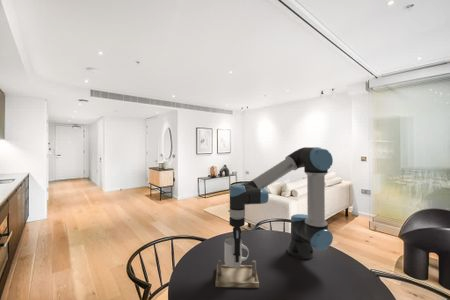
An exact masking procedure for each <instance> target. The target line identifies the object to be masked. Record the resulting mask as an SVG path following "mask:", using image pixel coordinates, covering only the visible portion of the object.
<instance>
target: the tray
mask: <svg viewBox="0 0 450 300" xmlns="http://www.w3.org/2000/svg"><path fill="white" fill-rule="evenodd" d="M222 263H223V261H222V259H218V260H217V264H216V275H215V288H216V287H217V288H250V289H251V288H254V289H255V288H260V281H259V277H258V271H257V261H256V260H252V261H251V265H250V264H248V265H247V264H241V265H240V268H234V267H229V266H227V265H226V264H222Z"/></svg>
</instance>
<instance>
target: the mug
mask: <svg viewBox="0 0 450 300" xmlns="http://www.w3.org/2000/svg"><path fill="white" fill-rule="evenodd" d="M243 249H244V250H246V251H247V254H246V255H247V256H246V257H245V256H243ZM234 253H235V240H234V237H228V238H226V239H225V240H224V265H227V266H229V267H234V255H233V254H234ZM249 254H250V251H249V248H248V247H247V246H246V245H245V244H243V241H242V239H240V265H242V262H244V261H246V260H247V259H248V258H249V256H250V255H249Z"/></svg>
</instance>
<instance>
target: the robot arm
mask: <svg viewBox="0 0 450 300" xmlns="http://www.w3.org/2000/svg"><path fill="white" fill-rule="evenodd" d="M333 162H334V161H333V156H332V153H331V152H330V151H329V150H328V149H327V148H324V147H319V146H318V147H316V146H315V147H309V146H308V147H301V148H299V149H296V150H294V151H293V152H292V153H290V154H288V155H286V156H285V158H284V159H283V160H282V161H280V162H279V163H277V164H276V165H274V166H273V167H271V168H269V169H267V170H266V171H264V172H263V173H261V174H259V175H258V176H257V177H255V178H253V179H251V180H250V181H248V182H243V183H241V184H233V185H231V186H230V188H229V209H228V211H227V212H228V213H229V220H228V221H229V222H228V223H229V226H230V227H232V233H233V238H234V240H235V253H234V254H233V255H234V268H240V240H242V238H241V237H242V235H241V234H242V228H241V227H245V223H246V221H245V220H246V218H245V217H246V206H247V205H263V204H267V203H268V202H269V198H270V197H269V192H268V189H266V188H267V187H268V186H271V184H273V183H275V182H276V181H277V180H279V179H281V178H282V177H284V176H286V175H287V174H289V173H290V172H292V171H297V170H298V169H301V168H304V170H303V171H304V173H305V175H306V176H307V177H306V178H307V179H306V182H307V191H306V192H307V193H306V194H307V196H306V197H307V198H306V199H307V214H304V213H303V214H302V213H299V214H293V215H292V216H290V240H289V242H288V245H287V253H288V254H289V255H290V256H292V257H294V258H296V259H299V260H311V259H313V257H314V256H315V251H314V250H315V249H316V250H318V251H324V250H327V249H328V248H329V247H330V246H331V245H332V243H333V241H334V235H333V233H332V232H331V230H329V223H328V221H326V219H325V217H326V216H325V215H326V213H325V211H326V210H325V206H326V204H325V201H326V200H325V195H326V194H325V193H326V192H325V191H326V190H325V183H326V182H325V176H326V175H327V174H328V173H329V171H328V170H329V169H330V168H331V167H332V165H333Z"/></svg>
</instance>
